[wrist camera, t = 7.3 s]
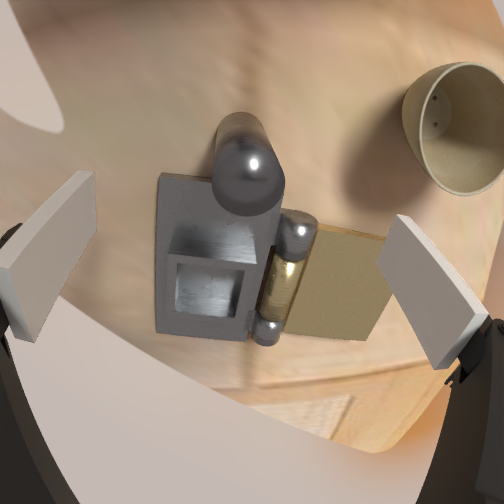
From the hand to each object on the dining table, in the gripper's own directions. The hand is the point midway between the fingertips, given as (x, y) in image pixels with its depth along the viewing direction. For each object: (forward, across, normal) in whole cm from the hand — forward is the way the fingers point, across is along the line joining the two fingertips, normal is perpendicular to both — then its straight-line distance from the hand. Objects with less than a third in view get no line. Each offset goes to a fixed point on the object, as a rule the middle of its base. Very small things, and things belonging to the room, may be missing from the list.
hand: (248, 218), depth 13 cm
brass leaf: (+13, +11, -12) cm, 21 cm away
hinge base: (+13, +1, -13) cm, 18 cm away
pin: (+13, 0, 0) cm, 13 cm away
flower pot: (+13, +15, +6) cm, 21 cm away
